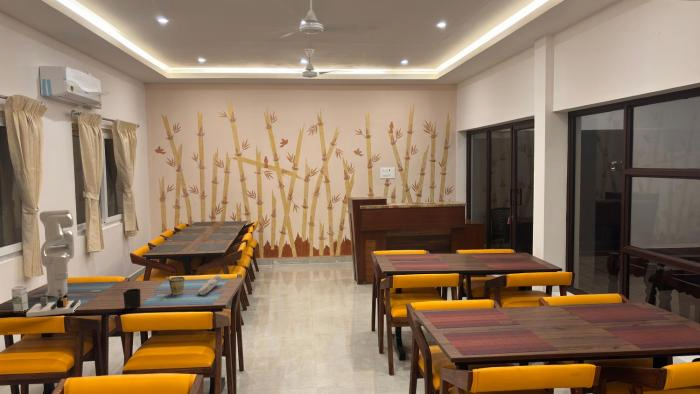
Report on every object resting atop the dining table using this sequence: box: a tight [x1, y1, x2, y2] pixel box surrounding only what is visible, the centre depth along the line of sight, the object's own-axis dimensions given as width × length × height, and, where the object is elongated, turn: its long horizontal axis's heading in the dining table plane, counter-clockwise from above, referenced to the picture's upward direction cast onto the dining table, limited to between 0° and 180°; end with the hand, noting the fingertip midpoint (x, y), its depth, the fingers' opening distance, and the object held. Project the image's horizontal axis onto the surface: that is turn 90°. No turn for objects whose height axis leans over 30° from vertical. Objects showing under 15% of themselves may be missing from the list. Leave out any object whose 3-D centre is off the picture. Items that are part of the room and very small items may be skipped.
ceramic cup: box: [168, 276, 186, 296], centre depth 332 cm, size 13×10×10 cm
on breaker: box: [40, 296, 49, 306], centre depth 300 cm, size 2×3×4 cm
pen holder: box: [122, 288, 142, 310], centre depth 302 cm, size 9×9×10 cm
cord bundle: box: [51, 297, 80, 310], centre depth 300 cm, size 15×12×2 cm
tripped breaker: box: [62, 298, 68, 306], centre depth 297 cm, size 2×3×4 cm
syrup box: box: [11, 285, 29, 312], centre depth 298 cm, size 6×6×14 cm
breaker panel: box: [25, 299, 82, 318], centre depth 299 cm, size 18×24×3 cm
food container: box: [196, 274, 222, 296], centre depth 338 cm, size 12×30×6 cm, turn 178°
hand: (62, 305), depth 294 cm, fingers open, 9 cm apart
